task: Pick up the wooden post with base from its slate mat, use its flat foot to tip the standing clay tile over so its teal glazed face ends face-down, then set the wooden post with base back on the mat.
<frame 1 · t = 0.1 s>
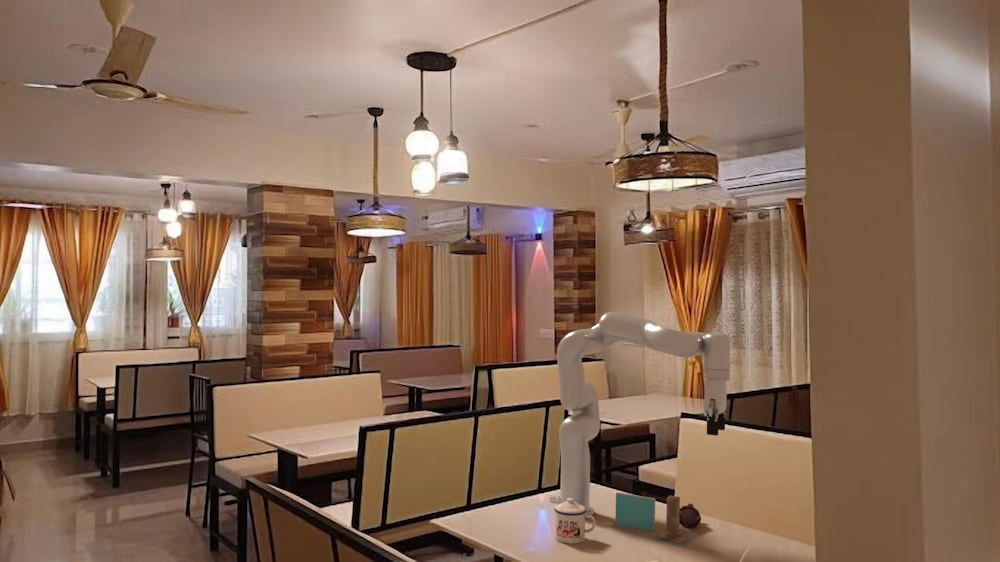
hand: (715, 432, 214), 31 cm above the table, tool pointing down, fingers open, 9 cm apart
wooden post with base: (672, 539, 209), resting on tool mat
teacup with lid: (574, 540, 209), on the table
tile: (635, 512, 220), point 5 cm above the table
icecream: (688, 528, 222), on the table
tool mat: (672, 540, 209), on the table
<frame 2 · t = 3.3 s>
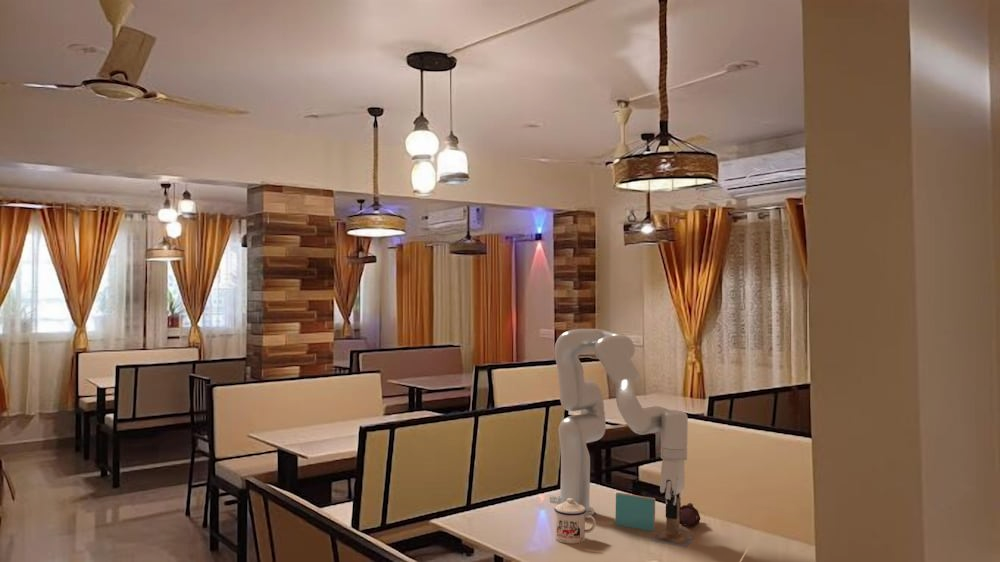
hand: (673, 516, 209), 7 cm above the table, tool pointing down, fingers closed on wooden post with base, 3 cm apart
wooden post with base: (672, 539, 209), resting on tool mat, touching gripper
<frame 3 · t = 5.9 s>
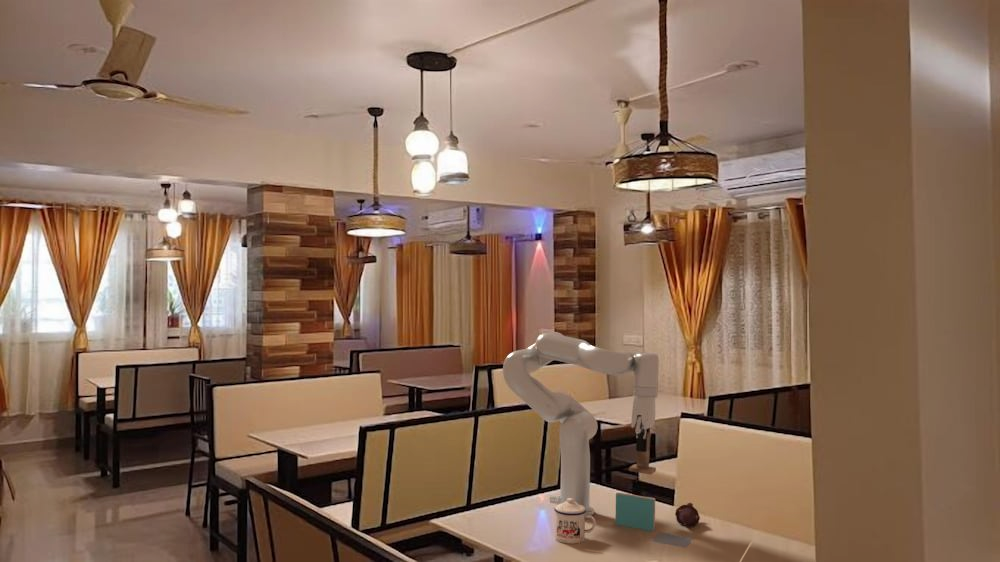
hand: (643, 449, 226), 23 cm above the table, tool pointing down, fingers closed on wooden post with base, 3 cm apart
wooden post with base: (642, 471, 226), point 16 cm above the table, touching gripper
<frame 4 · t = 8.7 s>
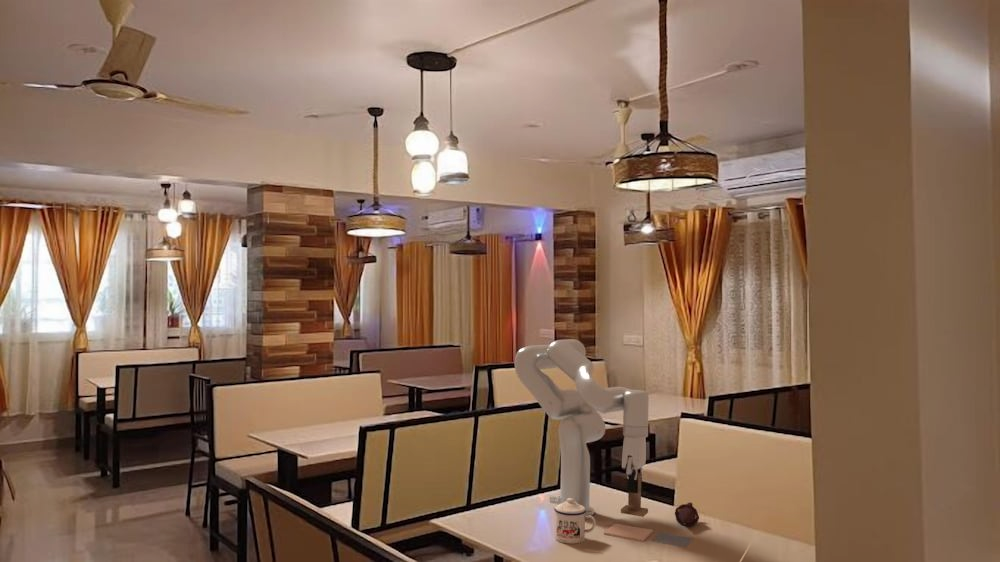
hand: (634, 490, 219), 12 cm above the table, tool pointing down, fingers closed on wooden post with base, 3 cm apart
wooden post with base: (634, 512, 219), point 5 cm above the table, touching gripper
tile: (628, 533, 214), on the table, tilted 90°
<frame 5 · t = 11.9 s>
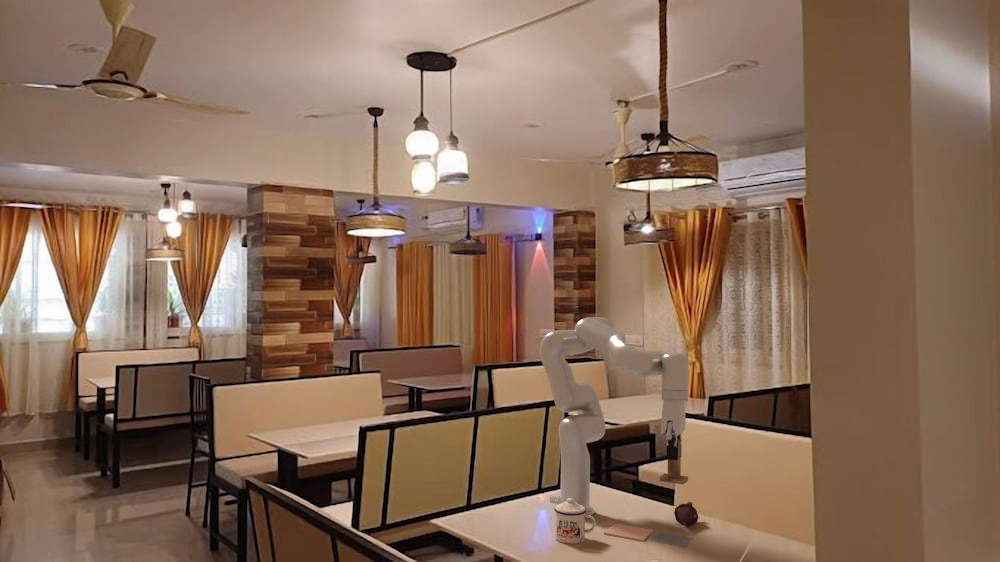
hand: (674, 457, 210), 24 cm above the table, tool pointing down, fingers closed on wooden post with base, 3 cm apart
wooden post with base: (673, 480, 209), point 17 cm above the table, touching gripper
when the fingers open (8 cm above the table, at t = 14.9 s): wooden post with base stays where it is, resting on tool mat.
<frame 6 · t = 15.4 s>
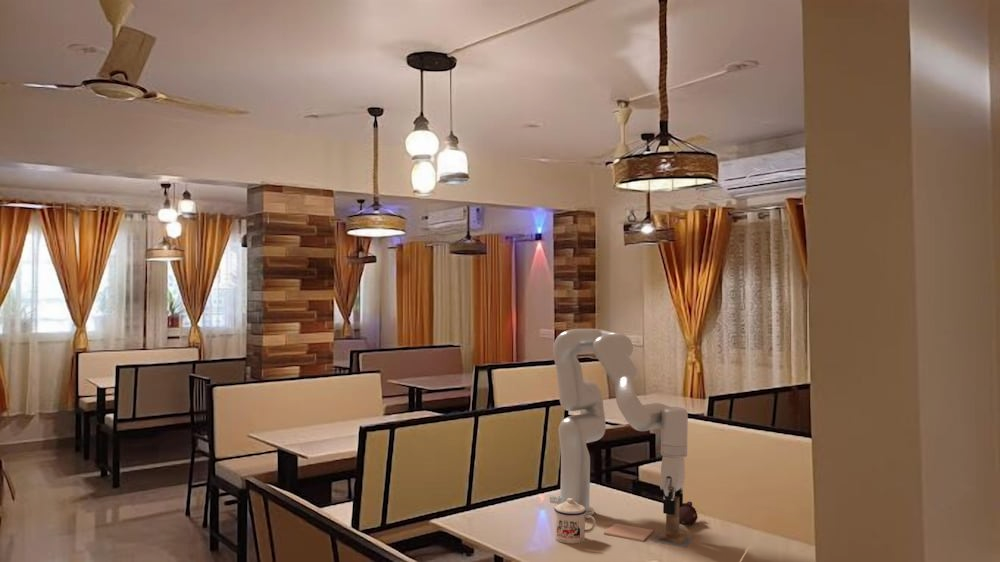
hand: (673, 509, 209), 9 cm above the table, tool pointing down, fingers open, 8 cm apart
wooden post with base: (672, 539, 209), resting on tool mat
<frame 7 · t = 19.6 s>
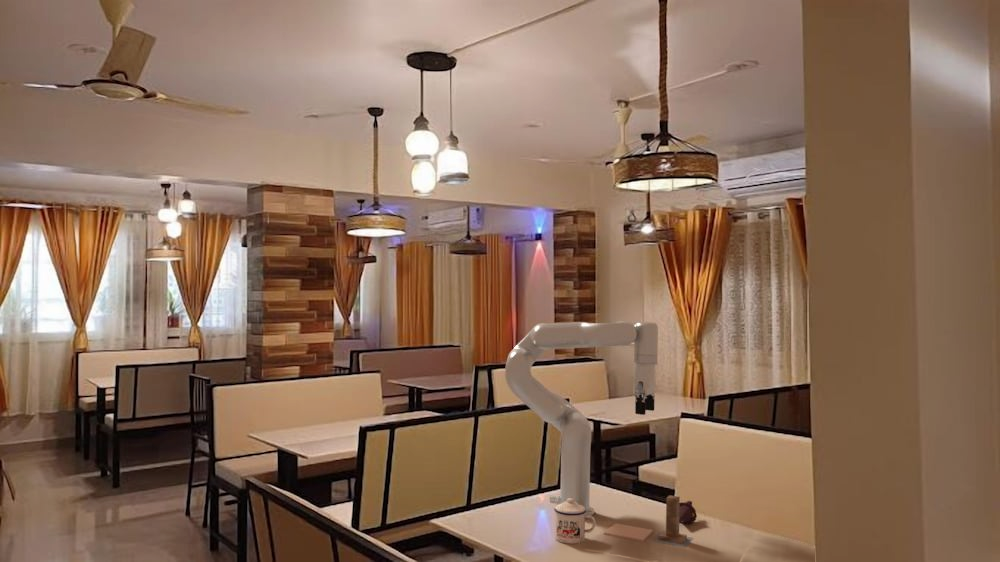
hand: (644, 412, 234), 33 cm above the table, tool pointing down, fingers open, 9 cm apart
at the end: tile tilted 90°; tile inside the target area (0.4 cm from its centre), on the table; wooden post with base inside the target area (0.1 cm from its centre), resting on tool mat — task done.
